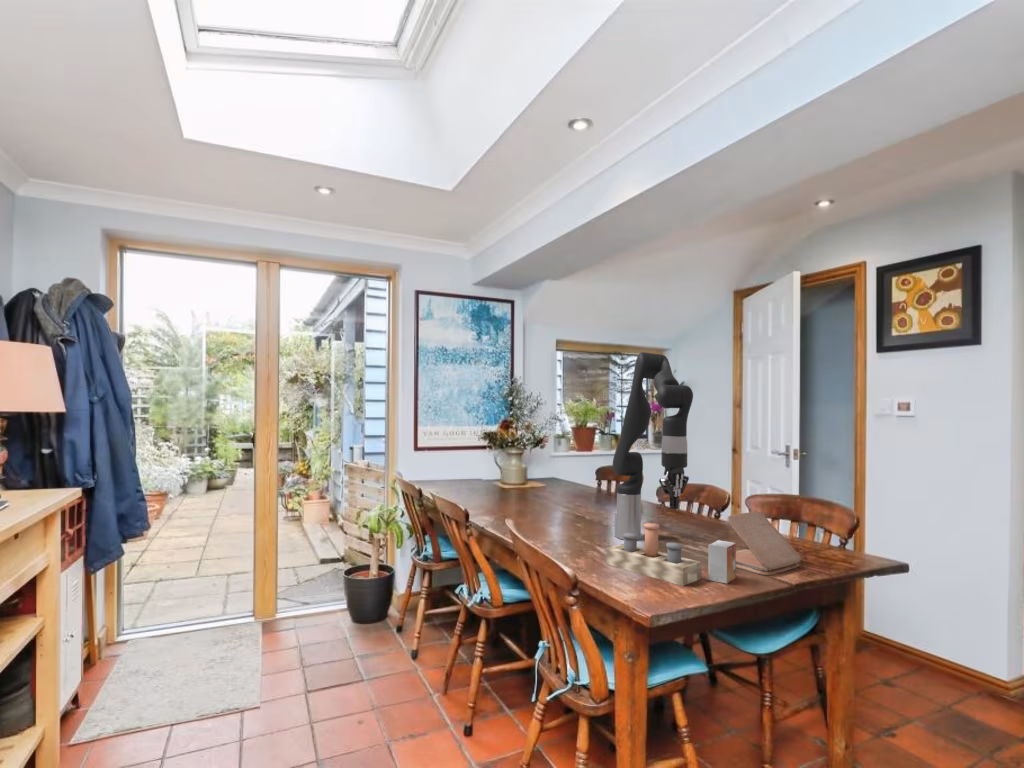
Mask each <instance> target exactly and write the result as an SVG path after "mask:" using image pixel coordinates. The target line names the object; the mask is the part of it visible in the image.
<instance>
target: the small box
mask: <svg viewBox="0 0 1024 768" xmlns="http://www.w3.org/2000/svg"><path fill="white" fill-rule="evenodd" d="M707 549H708V553H707V556H708V557H707V560H708V563H707V565H708V568H707V569H708V571H707V573H708V581H712V582H717V583H721V584H722V583H723V584H726V585H727V584H728V583H730V582H732V581H733V580H735V579H736V578H737V577H736V576H737V568H736V551H737V543H736V542H731V541H725V540H720V539H717V540H716V541H715V542H712V543H710V544H708V547H707Z"/></svg>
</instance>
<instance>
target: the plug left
mask: <svg viewBox="0 0 1024 768" xmlns="http://www.w3.org/2000/svg"><path fill="white" fill-rule="evenodd" d="M623 537H624V540H623V544H624V551H628V552H636V551H637V547H638V546H637V545H638V544H637V543H638V540H637V538H638V535H637V534H634V533H624V534H623Z"/></svg>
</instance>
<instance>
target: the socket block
mask: <svg viewBox="0 0 1024 768" xmlns="http://www.w3.org/2000/svg"><path fill="white" fill-rule="evenodd" d="M605 564H606V565H608V566H611V567H615V568H618V569H622V570H625V571H629V572H632V573H636V574H640V575H643V576H646V577H649V578H654V579H658V580H661V581H665V582H666V583H671V584H674V585H678V586H682V587H684V586H686V585H689V584H692V583H694V582H697V581H700V580H702V562H701V561H699V560H695V559H694V560H693V559H690V558H686V557H683V556H681V563H678V564H675V563H671V562H667V552H662V551H658V557H655V558H652V557H648V556H645V547H640V546H637V551H636V552H628V551H624V543H621V544H617V545H613V546H609V547H605Z"/></svg>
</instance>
